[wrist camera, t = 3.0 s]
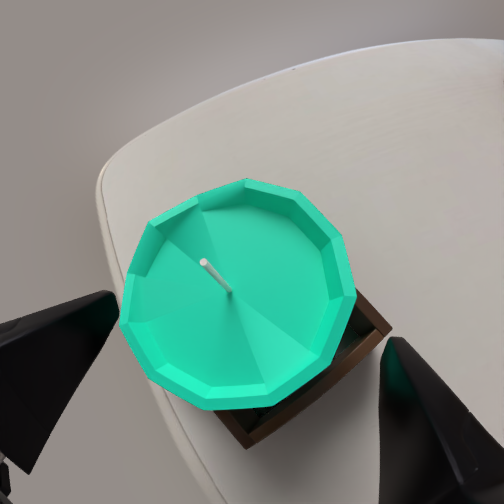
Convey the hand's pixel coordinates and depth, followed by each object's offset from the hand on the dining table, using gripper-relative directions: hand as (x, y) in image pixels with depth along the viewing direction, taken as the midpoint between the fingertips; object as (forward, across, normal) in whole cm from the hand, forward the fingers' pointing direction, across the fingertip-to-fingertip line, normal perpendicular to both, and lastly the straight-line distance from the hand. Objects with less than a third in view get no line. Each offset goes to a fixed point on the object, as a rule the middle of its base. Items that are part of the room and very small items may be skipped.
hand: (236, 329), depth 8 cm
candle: (+7, 0, +6) cm, 9 cm away
